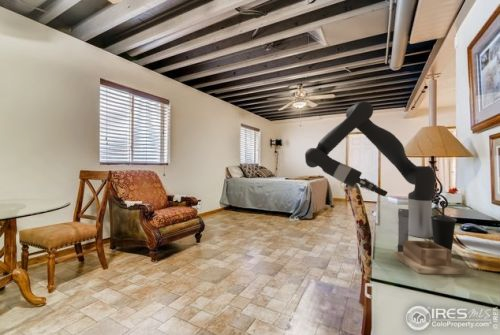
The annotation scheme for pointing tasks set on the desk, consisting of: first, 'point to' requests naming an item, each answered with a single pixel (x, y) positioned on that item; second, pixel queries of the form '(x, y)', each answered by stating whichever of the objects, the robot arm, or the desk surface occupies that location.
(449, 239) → the drinking cup
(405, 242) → the wooden square box
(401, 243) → the ball topped joystick
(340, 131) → the robot arm
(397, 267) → the desk surface
